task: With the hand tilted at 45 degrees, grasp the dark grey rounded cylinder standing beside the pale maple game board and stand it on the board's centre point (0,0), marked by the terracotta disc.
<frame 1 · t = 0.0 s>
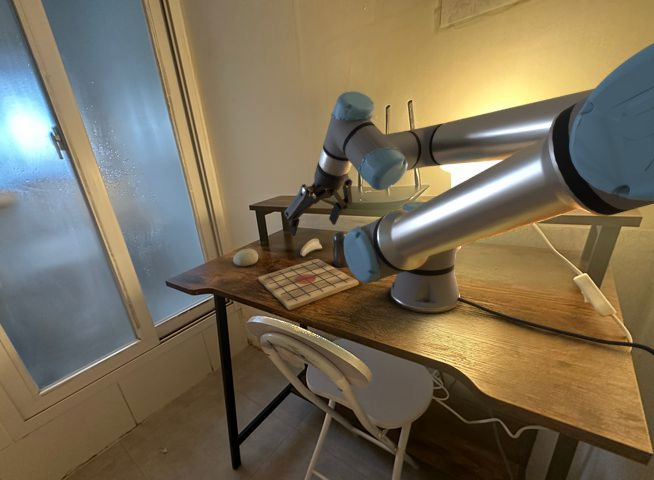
hand: (312, 227, 88), 15 cm above the table, tool tilted 35°, fingers open, 13 cm apart
video game controller: (444, 259, 92), on the table
sea urchin shell: (247, 263, 111), on the table
game board: (305, 282, 91), on the table
dark grey rounded cylinder: (341, 263, 99), on the table
ceramic fragment: (311, 250, 114), on the table
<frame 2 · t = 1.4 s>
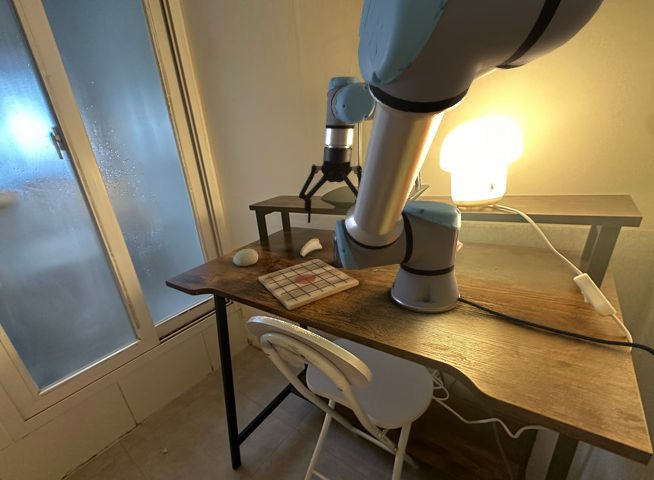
hand: (331, 222, 92), 15 cm above the table, tool pointing down, fingers open, 13 cm apart
nothing on the table moved.
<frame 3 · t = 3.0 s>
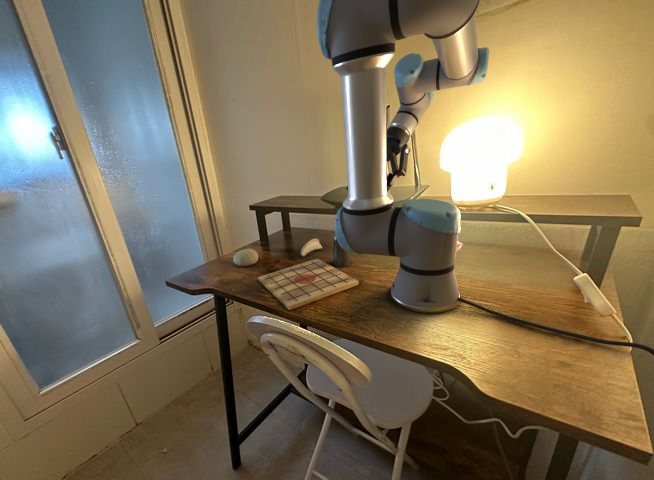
hand: (364, 193, 94), 21 cm above the table, tool tilted 45°, fingers open, 13 cm apart
nothing on the table moved.
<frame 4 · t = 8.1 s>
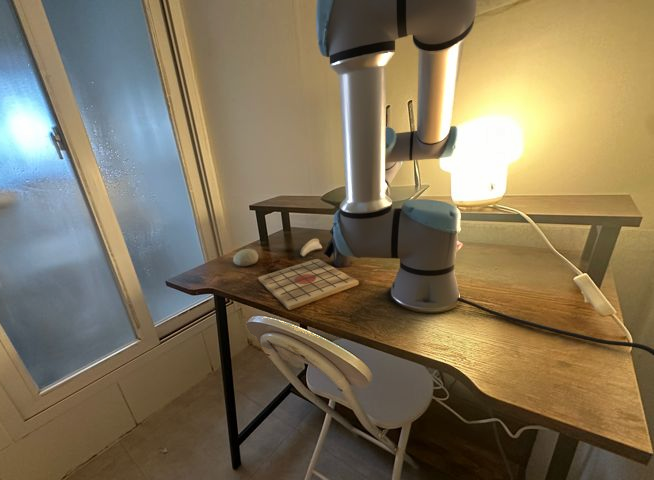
hand: (332, 257, 96), 3 cm above the table, tool tilted 45°, fingers closed on dark grey rounded cylinder, 5 cm apart
dark grey rounded cylinder: (341, 263, 99), on the table, touching gripper
everything else where it was.
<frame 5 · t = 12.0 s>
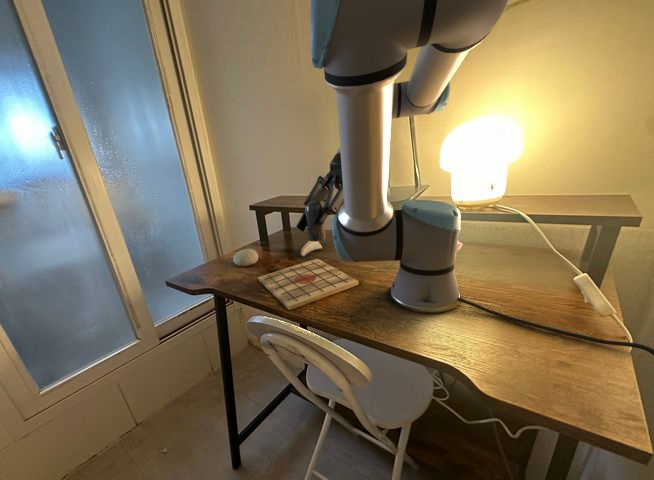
hand: (305, 231, 86), 15 cm above the table, tool tilted 45°, fingers closed on dark grey rounded cylinder, 5 cm apart
dark grey rounded cylinder: (316, 238, 89), point 12 cm above the table, touching gripper
everything else where it was.
when the fingers open (5 cm above the table, at t = 16.1 s): dark grey rounded cylinder stays where it is, resting on game board.
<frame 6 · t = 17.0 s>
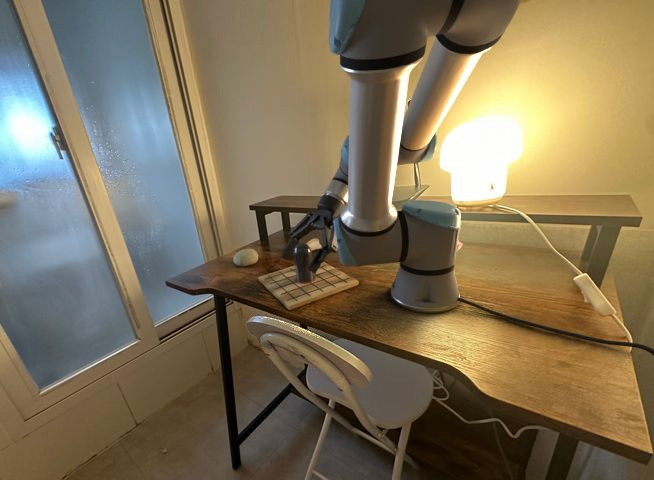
hand: (296, 264, 87), 7 cm above the table, tool tilted 45°, fingers open, 13 cm apart
dark grey rounded cylinder: (305, 278, 90), point 1 cm above the table, touching game board
everything else where it was.
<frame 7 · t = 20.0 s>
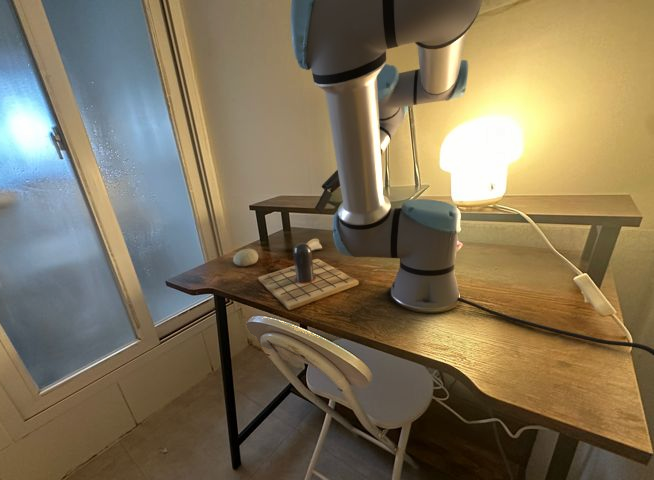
hand: (332, 213, 87), 18 cm above the table, tool tilted 45°, fingers open, 13 cm apart
nothing on the table moved.
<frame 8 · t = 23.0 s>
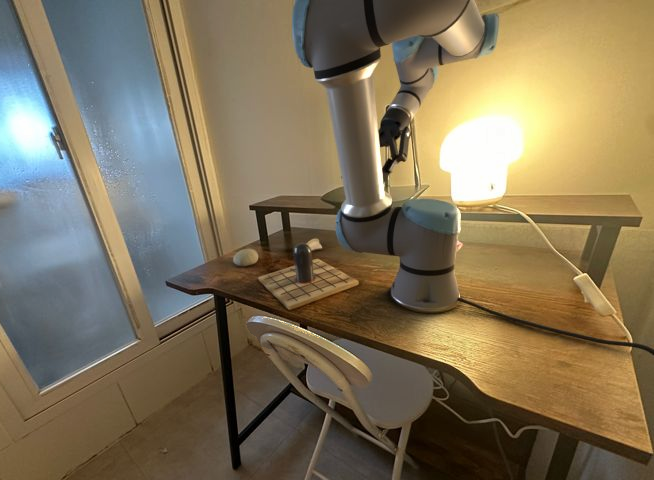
hand: (360, 181, 86), 26 cm above the table, tool tilted 45°, fingers open, 13 cm apart
nothing on the table moved.
at the end: dark grey rounded cylinder 0.1 cm off-centre on the game board, point 1.3 cm above the game board's base; dark grey rounded cylinder tilted 0° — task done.
